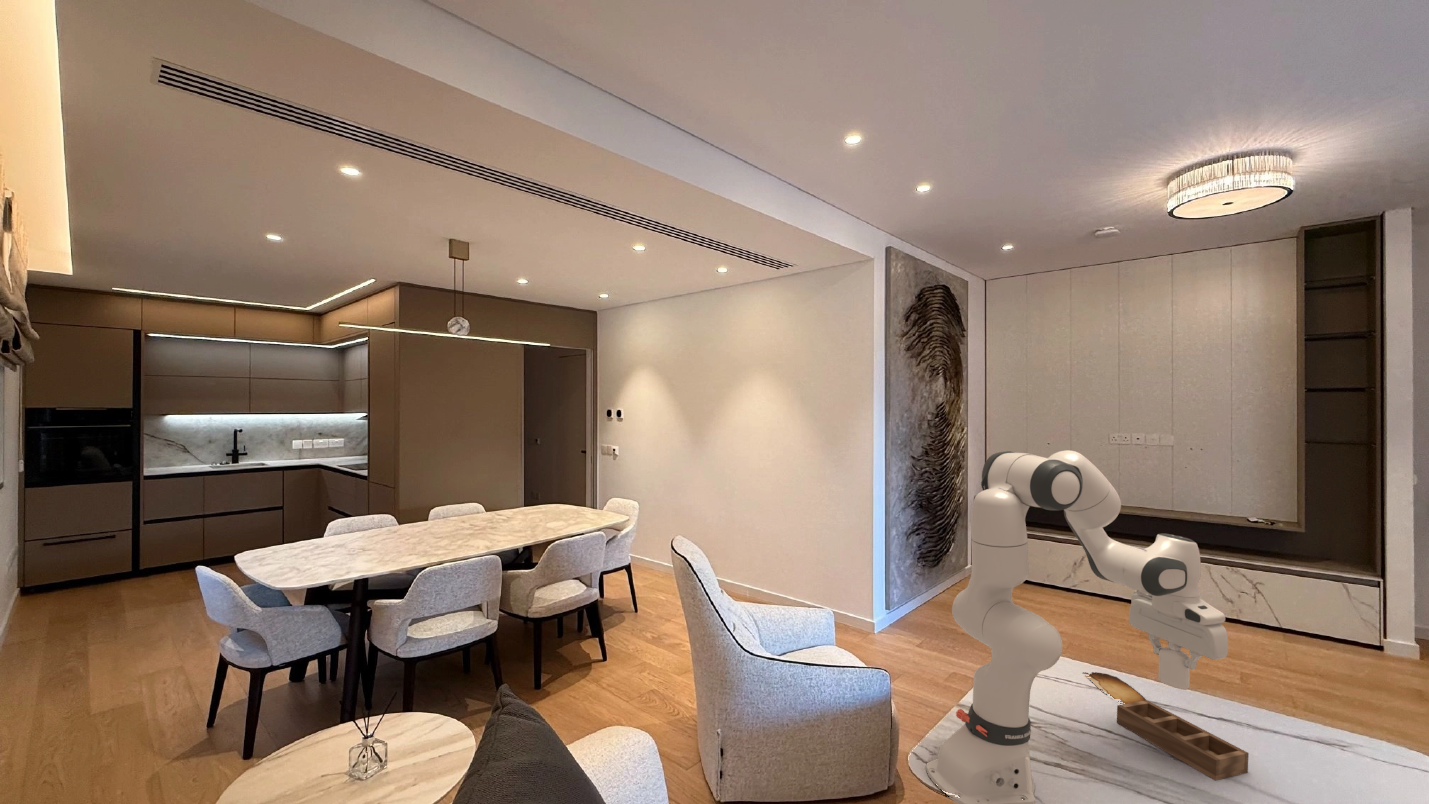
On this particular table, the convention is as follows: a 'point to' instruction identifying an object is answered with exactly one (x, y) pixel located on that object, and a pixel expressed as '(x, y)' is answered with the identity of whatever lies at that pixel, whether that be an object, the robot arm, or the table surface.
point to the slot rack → (1183, 740)
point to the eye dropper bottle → (1173, 667)
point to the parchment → (1115, 687)
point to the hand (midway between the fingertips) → (1174, 660)
